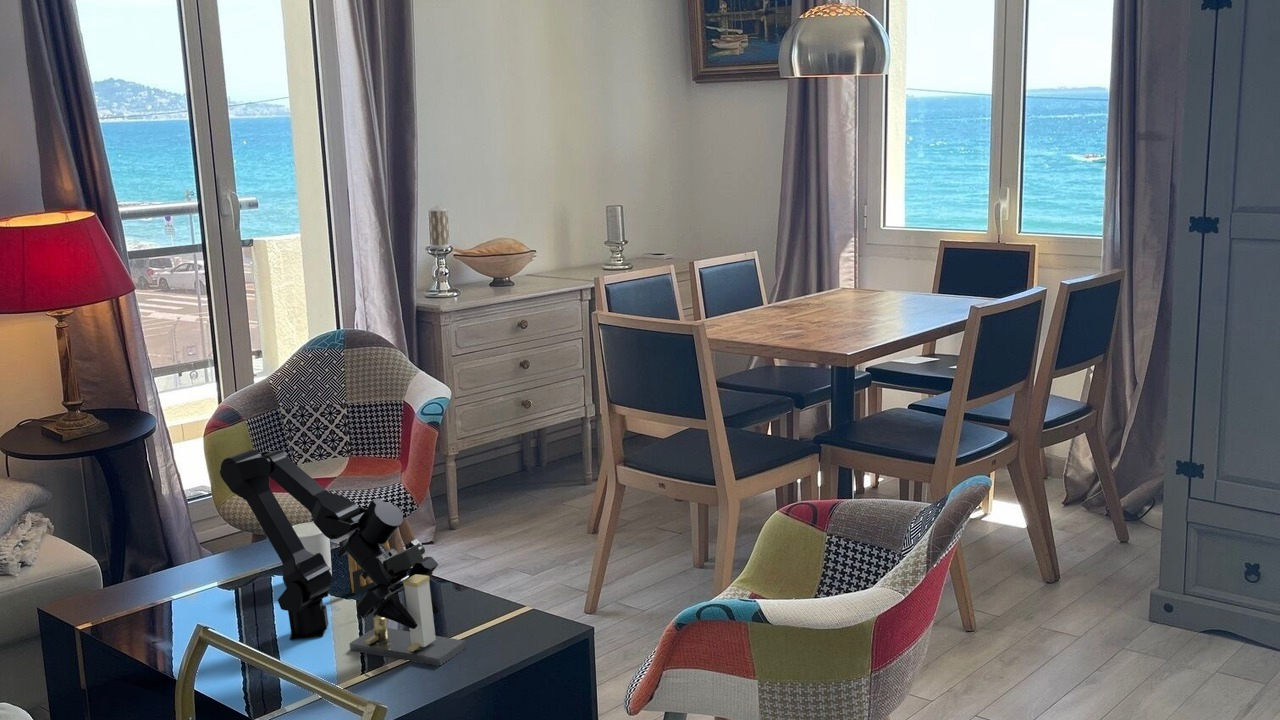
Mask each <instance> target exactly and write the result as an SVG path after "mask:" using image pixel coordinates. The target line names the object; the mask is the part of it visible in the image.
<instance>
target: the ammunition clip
mask: <svg viewBox="0 0 1280 720" xmlns="http://www.w3.org/2000/svg"><path fill="white" fill-rule="evenodd" d="M383 546H384V547H385V548H386V549H387V550H390V549H391V547H390V545H389V540H388V541H387V542H386V543H383ZM347 555H348V556H347V557H348V558H347V561H348V570H347V571H348V582H349V593H350V594H352V595H359V594H361V593H364V592H366V591H367V590H369V589H371V588H373V587H374V586H376V585H375V583H374V582H373V581H372V580H371V579H370V578H369V577H368V578H367V579H364V578H363V577H362V576H361V575H362V574H363V573H364V571H363V569H362V568H361V567H360V566H359V565H358V564H357V562H356V561H355V560H354V559H353V558H352V557H351V555H350V554H349V553H348V554H347Z"/></svg>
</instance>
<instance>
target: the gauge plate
mask: <svg viewBox="0 0 1280 720" xmlns="http://www.w3.org/2000/svg"><path fill="white" fill-rule="evenodd" d="M372 623H373V628H372V629H370V630H368V631H367V632H364V634H362V635H360V636H359V637H357V638H356V639H354V640H352V641H351V642H349V649H350V651H351V652H357V653H363V654H368V655H373V656H380V657H384V658H391V659H396V660H402V661H407V660H409V661H408V662H412V661H416V662H415V663H418V662H420V663H419V664H424V663H425V664H424V665H429V664H432V665H431V666H435V665H438V666H437V667H440V666H439V665H442V664H443V663H444V664H445V662H446V661H447V662H448V660H449V659H450V660H451V659H453V658H454V657H456V656H457V655H458V654H459V652H460V653H461V652H462V651H464V650H465V649H466V647H467V646H466V640H463V639H458V638H457V639H456V638H451V637H446V636H445V637H444V636H439V635H435V637H436V640H434V641H433V642H431V643H430V644H428V645H427V646H426V647H419V648H417V649H416V650H414V651H413V652H412V651H408V647H410V646H411V638H410V630H409V631H408V630H402V629H401V630H400V629H395V628H389V627H388V623H387V618H384V617H381V616H374V617H373V618H372ZM464 648H465V649H464ZM463 649H464V650H463ZM456 654H457V655H456ZM452 657H453V658H452ZM450 660H449V661H450ZM421 662H422V663H421ZM447 662H446V663H447ZM426 663H427V664H426ZM444 664H443V665H444ZM443 665H442V666H443Z"/></svg>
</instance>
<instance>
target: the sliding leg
mask: <svg viewBox="0 0 1280 720" xmlns="http://www.w3.org/2000/svg"><path fill="white" fill-rule="evenodd" d="M429 580H430V581H431V577H430V578H429V576H426V575H418V574H415V575H413V576H411V577H410V578H408V579H406V580H405V581H403V582H402V583H403V585H404V595H405V596H404V597H405V602H406V610H407V611H408V612H409V614H410V615H411V616H412V617H413V619H414V620H415V622H416V623H417V625H418V626H417V627H416V628H415V629H412V628H409V627H408V629H409V632H410V638H411V646H410V647H408V651H412V652H413V651H414V650H416V649H417V648H419V647H426V646H427V645H428V644H430V643H431V642H433V641H434V640H436V637H435V636H436V629H435V622H434V613H433V611H432V602H431V593H430V586H431V584H430V585H429Z"/></svg>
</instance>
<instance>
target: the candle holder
mask: <svg viewBox="0 0 1280 720" xmlns="http://www.w3.org/2000/svg"><path fill="white" fill-rule="evenodd" d="M292 527H293V529H294V530H295V532H296V534H297V536H298V537H299V539H300V541H301V542H302V544H303V546H304V548H305V549H306V550H307V551H308V552H310V553H312V554H314V555H315V554H317V553H320V554H321V555H322V556H323V558H324V560H325V562H326V564H327V565H328V566H329V567H330V568H331V570H329V571H330V573H331V575H332V576H333V571H332V570H333V569H332V556H331V543H330V542H331V541H330V540H331V539H329V538H327V537H326V536H325V535H324V534H323V533H322V532H321V531H320V530H319V528H318V527H317V526H316V525H315V524H314V522H313V521H310V522H303V523H299V524H295V525H292Z"/></svg>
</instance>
